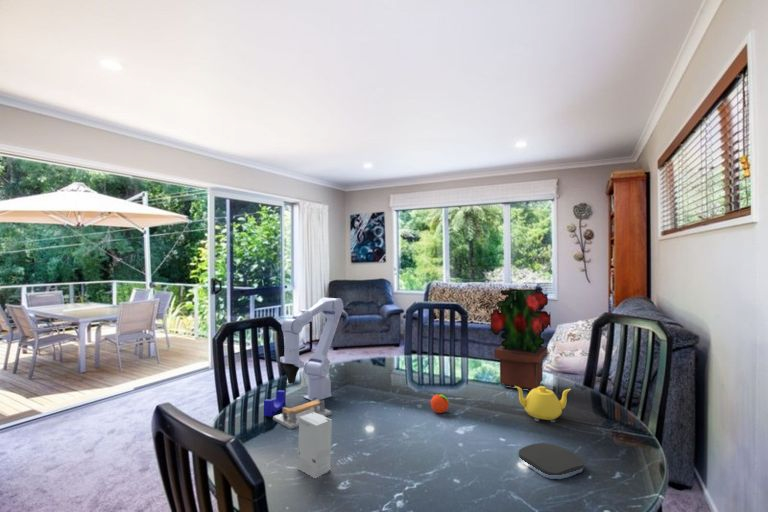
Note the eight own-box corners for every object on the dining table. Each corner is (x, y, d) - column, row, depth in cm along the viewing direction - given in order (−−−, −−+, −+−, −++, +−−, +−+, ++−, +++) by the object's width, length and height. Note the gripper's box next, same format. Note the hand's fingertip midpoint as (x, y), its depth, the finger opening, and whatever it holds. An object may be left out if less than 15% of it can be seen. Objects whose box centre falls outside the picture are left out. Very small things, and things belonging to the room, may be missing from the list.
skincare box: (296, 469, 110) (296, 417, 110) (313, 461, 114) (313, 410, 114) (316, 480, 104) (315, 425, 104) (332, 470, 109) (332, 417, 109)
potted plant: (551, 383, 184) (550, 289, 185) (542, 397, 166) (541, 292, 166) (504, 376, 196) (503, 287, 197) (491, 388, 177) (490, 290, 178)
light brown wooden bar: (317, 402, 154) (317, 397, 154) (322, 404, 151) (322, 400, 151) (284, 413, 143) (284, 408, 143) (289, 415, 140) (289, 411, 140)
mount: (312, 406, 157) (312, 394, 157) (331, 414, 149) (331, 402, 149) (272, 419, 144) (272, 407, 144) (290, 429, 136) (290, 416, 136)
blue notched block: (275, 404, 160) (275, 389, 160) (285, 405, 159) (285, 390, 159) (260, 416, 148) (260, 400, 148) (271, 416, 147) (271, 401, 147)
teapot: (565, 410, 151) (565, 381, 151) (576, 427, 136) (576, 394, 136) (511, 407, 155) (511, 378, 155) (517, 422, 140) (516, 391, 140)
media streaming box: (551, 484, 102) (551, 472, 102) (512, 458, 116) (512, 448, 116) (590, 471, 108) (590, 461, 108) (549, 448, 122) (549, 439, 122)
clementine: (454, 412, 149) (454, 394, 149) (444, 418, 144) (444, 399, 144) (437, 407, 155) (437, 389, 155) (427, 412, 150) (427, 394, 150)
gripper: (273, 347, 157) (272, 381, 157) (293, 353, 147) (292, 389, 147) (288, 344, 162) (288, 377, 162) (308, 350, 152) (308, 385, 152)
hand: (291, 382), depth 154 cm, fingers closed
